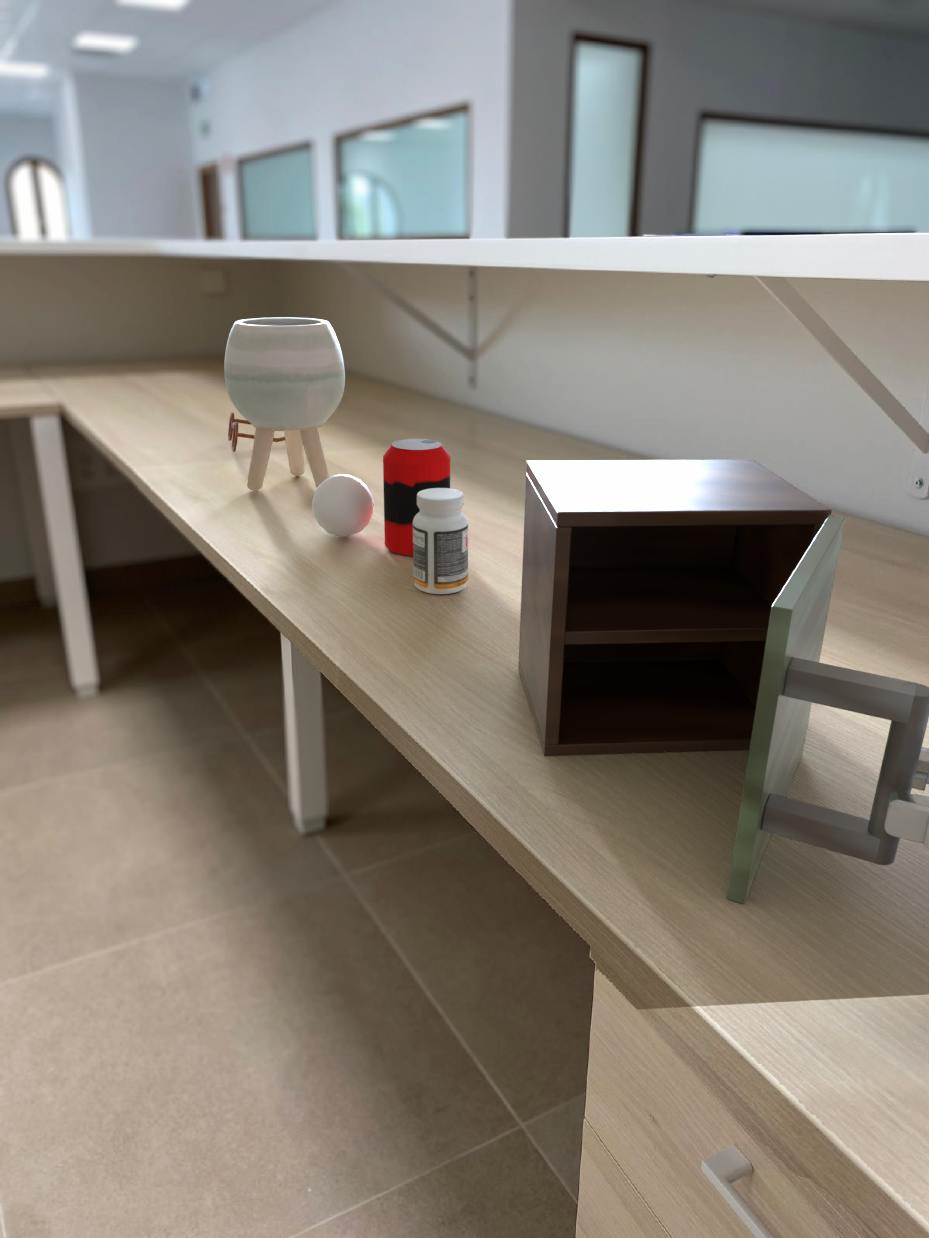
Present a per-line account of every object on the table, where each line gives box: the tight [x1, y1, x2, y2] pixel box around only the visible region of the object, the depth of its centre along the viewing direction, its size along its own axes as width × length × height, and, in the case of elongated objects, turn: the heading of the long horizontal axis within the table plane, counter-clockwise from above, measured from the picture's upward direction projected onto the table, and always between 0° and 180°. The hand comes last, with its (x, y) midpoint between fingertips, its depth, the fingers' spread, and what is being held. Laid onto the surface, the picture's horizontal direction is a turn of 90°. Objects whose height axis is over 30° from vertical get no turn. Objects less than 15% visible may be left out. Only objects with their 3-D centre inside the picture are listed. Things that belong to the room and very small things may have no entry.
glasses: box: [227, 411, 285, 453], centre depth 155 cm, size 13×13×5 cm
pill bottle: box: [412, 487, 469, 595], centre depth 94 cm, size 6×6×10 cm
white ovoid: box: [311, 473, 376, 537], centre depth 112 cm, size 10×7×7 cm
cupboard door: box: [726, 514, 929, 905], centre depth 54 cm, size 8×18×18 cm, turn 152°
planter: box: [223, 316, 346, 492], centre depth 128 cm, size 16×16×22 cm
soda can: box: [382, 438, 452, 557], centre depth 106 cm, size 8×8×12 cm
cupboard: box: [517, 459, 833, 757], centre depth 69 cm, size 14×18×18 cm
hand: (889, 785), depth 47 cm, fingers open, 4 cm apart
